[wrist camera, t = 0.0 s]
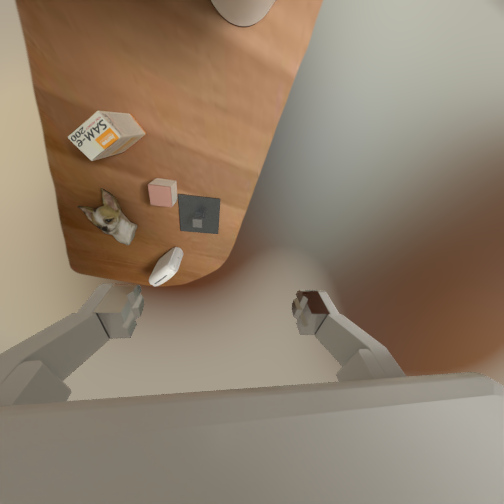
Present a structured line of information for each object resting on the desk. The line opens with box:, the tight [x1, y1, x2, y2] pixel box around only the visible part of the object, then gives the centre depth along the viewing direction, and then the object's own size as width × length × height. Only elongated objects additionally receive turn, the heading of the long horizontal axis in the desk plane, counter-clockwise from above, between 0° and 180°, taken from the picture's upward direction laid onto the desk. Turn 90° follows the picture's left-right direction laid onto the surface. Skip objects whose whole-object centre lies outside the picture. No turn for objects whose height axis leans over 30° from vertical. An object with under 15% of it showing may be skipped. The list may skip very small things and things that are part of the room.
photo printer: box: [149, 247, 183, 286], centre depth 59 cm, size 10×4×12 cm, turn 126°
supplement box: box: [68, 111, 146, 161], centre depth 38 cm, size 8×5×13 cm, turn 119°
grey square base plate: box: [178, 194, 220, 234], centre depth 54 cm, size 12×12×6 cm
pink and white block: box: [148, 178, 178, 207], centre depth 49 cm, size 5×5×7 cm
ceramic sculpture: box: [78, 188, 137, 245], centre depth 51 cm, size 11×9×15 cm
